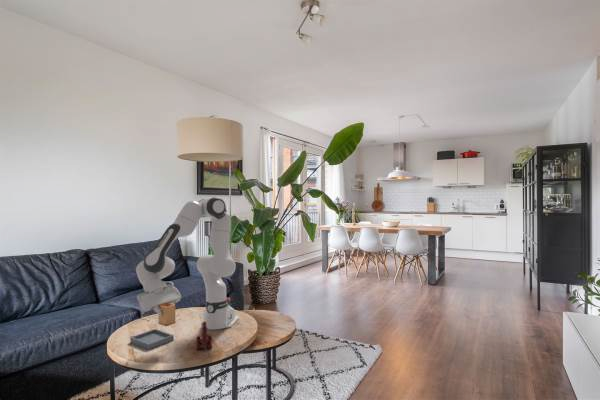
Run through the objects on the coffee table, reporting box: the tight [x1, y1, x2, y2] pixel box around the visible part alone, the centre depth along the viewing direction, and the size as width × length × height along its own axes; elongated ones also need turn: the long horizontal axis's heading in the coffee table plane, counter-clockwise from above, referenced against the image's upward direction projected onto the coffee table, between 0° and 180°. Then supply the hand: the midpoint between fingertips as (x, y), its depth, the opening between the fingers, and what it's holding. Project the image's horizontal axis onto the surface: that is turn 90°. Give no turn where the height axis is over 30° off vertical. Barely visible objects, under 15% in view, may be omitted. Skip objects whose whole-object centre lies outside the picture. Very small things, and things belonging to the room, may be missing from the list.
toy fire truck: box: [196, 322, 213, 351], centre depth 167 cm, size 7×12×10 cm, turn 16°
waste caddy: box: [157, 303, 176, 327], centre depth 166 cm, size 6×5×9 cm
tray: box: [130, 328, 175, 351], centre depth 173 cm, size 16×14×2 cm
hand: (167, 312), depth 166 cm, fingers closed on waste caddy, 5 cm apart
